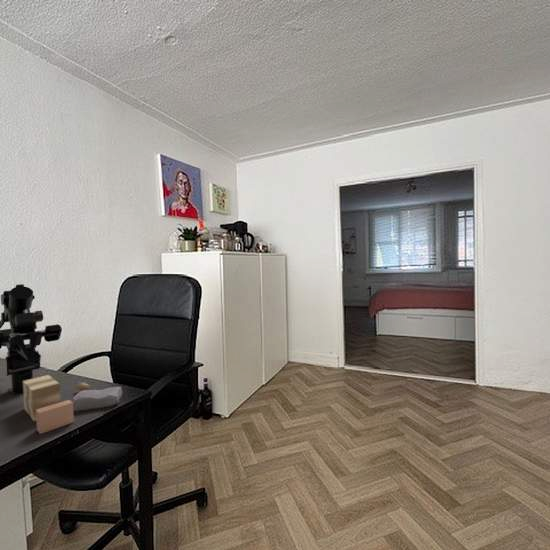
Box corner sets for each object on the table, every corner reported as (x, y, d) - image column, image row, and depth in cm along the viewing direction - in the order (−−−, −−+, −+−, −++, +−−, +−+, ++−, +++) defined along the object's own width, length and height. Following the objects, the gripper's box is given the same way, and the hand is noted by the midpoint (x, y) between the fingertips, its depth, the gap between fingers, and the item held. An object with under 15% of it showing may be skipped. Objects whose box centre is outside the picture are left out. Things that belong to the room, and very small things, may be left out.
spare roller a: (75, 392, 97) (77, 382, 98) (85, 391, 99) (87, 381, 100) (80, 395, 94) (82, 385, 94) (90, 395, 96) (92, 385, 97)
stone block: (81, 405, 92) (69, 413, 83) (82, 388, 93) (70, 394, 84) (124, 400, 95) (117, 407, 86) (125, 384, 96) (118, 390, 87)
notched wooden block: (24, 408, 87) (22, 380, 87) (49, 401, 91) (48, 374, 91) (33, 421, 79) (32, 390, 79) (61, 412, 83) (59, 383, 83)
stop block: (36, 429, 74) (35, 409, 74) (70, 418, 80) (69, 399, 80) (39, 433, 72) (38, 413, 72) (73, 422, 78) (72, 402, 78)
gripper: (-18, 307, 89) (-11, 350, 82) (58, 300, 103) (70, 336, 96) (-19, 331, 94) (-13, 373, 87) (53, 321, 108) (64, 357, 101)
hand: (30, 358), depth 93 cm, fingers closed
